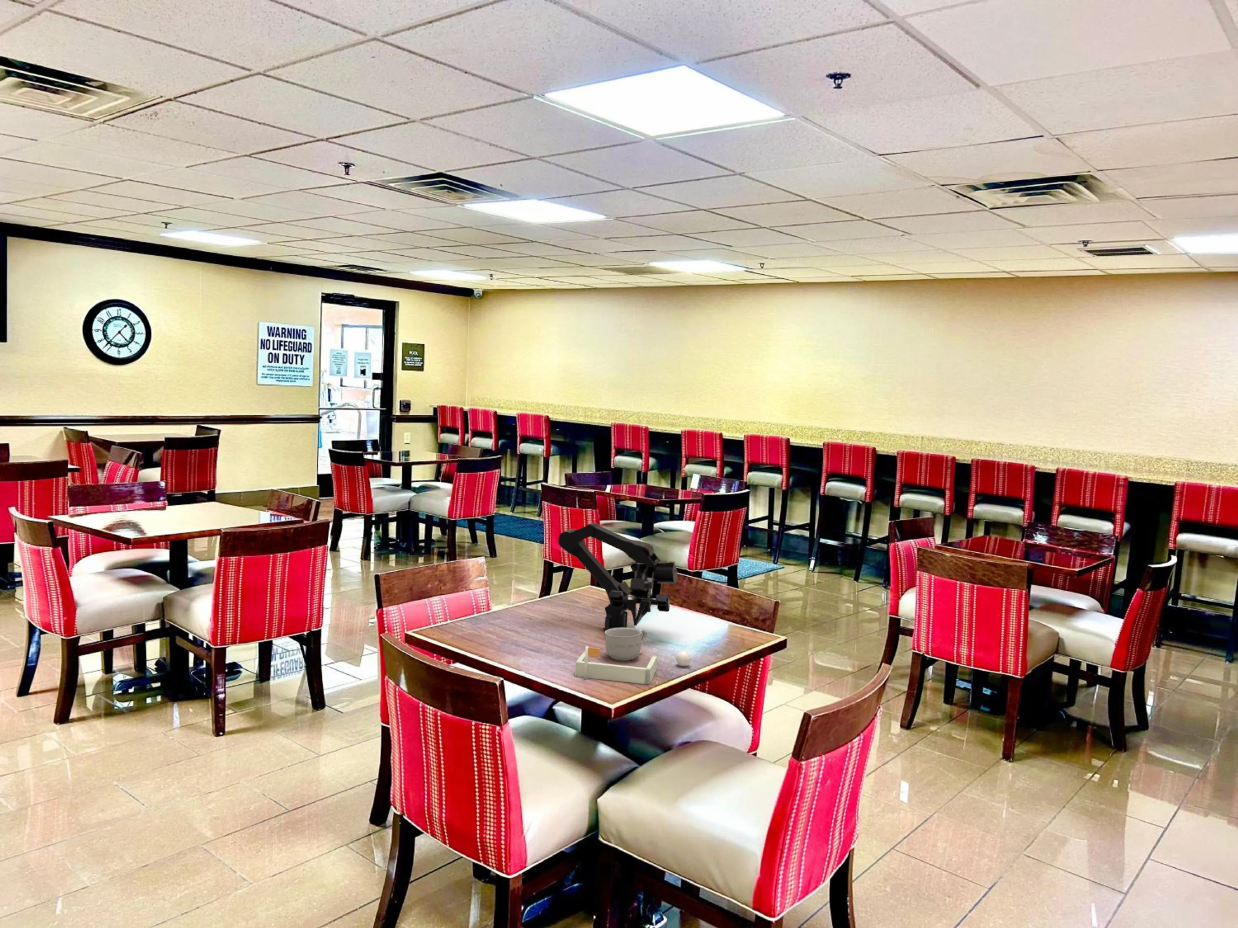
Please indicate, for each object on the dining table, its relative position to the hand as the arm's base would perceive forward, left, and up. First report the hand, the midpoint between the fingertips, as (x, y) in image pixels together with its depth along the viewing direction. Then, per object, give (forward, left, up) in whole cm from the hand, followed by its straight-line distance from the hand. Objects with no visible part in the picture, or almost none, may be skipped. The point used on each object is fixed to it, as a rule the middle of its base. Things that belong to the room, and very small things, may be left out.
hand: (635, 624), depth 268 cm
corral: (+20, +19, -7) cm, 28 cm away
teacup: (+8, +8, -7) cm, 13 cm away
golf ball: (-2, +22, -4) cm, 23 cm away
